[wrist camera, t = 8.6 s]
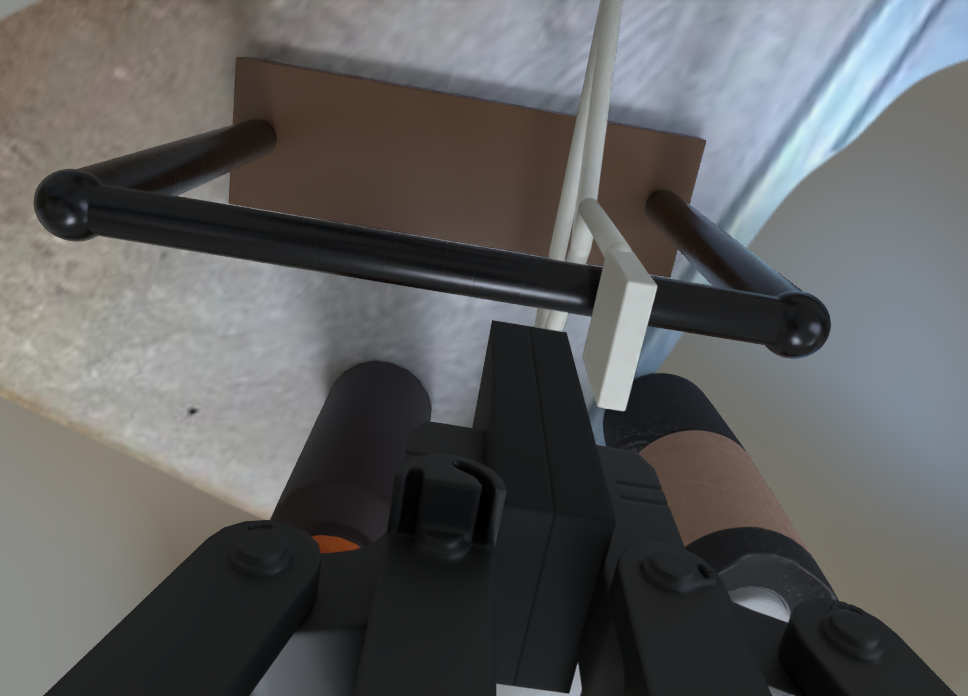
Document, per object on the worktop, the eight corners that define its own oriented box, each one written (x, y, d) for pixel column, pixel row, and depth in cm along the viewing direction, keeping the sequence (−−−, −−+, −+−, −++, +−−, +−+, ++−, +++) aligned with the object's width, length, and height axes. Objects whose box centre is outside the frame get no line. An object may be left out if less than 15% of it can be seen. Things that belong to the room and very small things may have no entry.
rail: (244, 56, 43) (-3, 61, 21) (700, 137, 44) (898, 218, 23) (236, 199, 46) (11, 330, 24) (665, 271, 47) (812, 455, 26)
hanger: (610, -53, 33) (734, -160, 16) (628, -49, 33) (771, -152, 16) (513, 425, 41) (528, 683, 24) (527, 428, 41) (554, 687, 24)
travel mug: (646, 494, 53) (733, 735, 34) (574, 418, 51) (624, 631, 32) (739, 425, 51) (884, 642, 32) (667, 345, 49) (777, 525, 30)
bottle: (318, 438, 51) (220, 659, 33) (340, 346, 49) (249, 527, 30) (417, 464, 52) (376, 695, 33) (444, 375, 50) (417, 570, 31)
